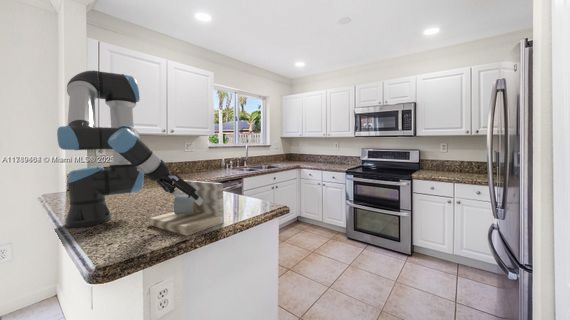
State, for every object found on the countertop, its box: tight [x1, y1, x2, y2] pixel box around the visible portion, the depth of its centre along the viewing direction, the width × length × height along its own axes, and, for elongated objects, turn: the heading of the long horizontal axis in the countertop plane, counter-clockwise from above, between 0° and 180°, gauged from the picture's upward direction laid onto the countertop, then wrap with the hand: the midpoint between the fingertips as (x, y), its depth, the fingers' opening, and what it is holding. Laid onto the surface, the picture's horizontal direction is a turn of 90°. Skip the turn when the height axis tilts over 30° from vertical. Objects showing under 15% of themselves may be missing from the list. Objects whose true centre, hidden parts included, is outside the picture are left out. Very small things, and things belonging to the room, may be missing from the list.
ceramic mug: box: [173, 195, 198, 214], centre depth 99 cm, size 11×8×8 cm
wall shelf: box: [148, 179, 225, 237], centre depth 97 cm, size 24×17×16 cm
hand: (192, 201), depth 100 cm, fingers closed on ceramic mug, 10 cm apart
